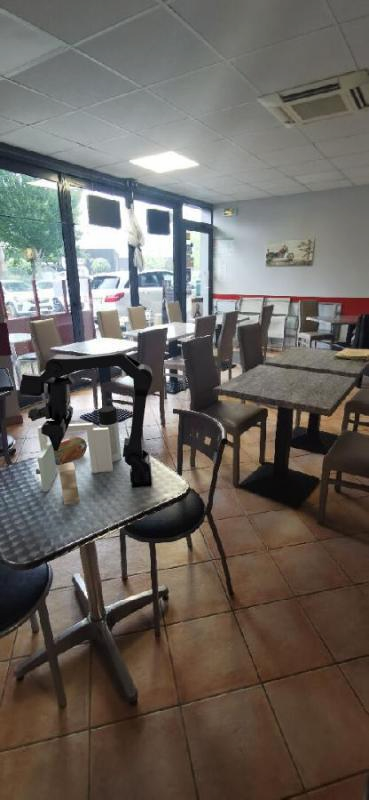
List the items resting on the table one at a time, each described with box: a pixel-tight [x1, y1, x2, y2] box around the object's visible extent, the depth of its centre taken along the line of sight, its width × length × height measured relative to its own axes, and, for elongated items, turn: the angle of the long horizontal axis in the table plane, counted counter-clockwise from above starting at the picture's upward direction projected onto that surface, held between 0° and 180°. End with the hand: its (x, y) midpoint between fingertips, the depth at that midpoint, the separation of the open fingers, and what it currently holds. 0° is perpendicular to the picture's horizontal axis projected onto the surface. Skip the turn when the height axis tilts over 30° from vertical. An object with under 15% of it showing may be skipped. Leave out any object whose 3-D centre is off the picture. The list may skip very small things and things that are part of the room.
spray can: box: [97, 405, 122, 463], centre depth 146 cm, size 7×7×20 cm
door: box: [35, 441, 58, 492], centre depth 132 cm, size 12×3×12 cm, turn 3°
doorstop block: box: [57, 461, 80, 505], centre depth 123 cm, size 4×5×11 cm
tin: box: [53, 436, 88, 467], centre depth 148 cm, size 15×3×8 cm, turn 132°
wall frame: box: [37, 422, 114, 474], centre depth 137 cm, size 23×2×18 cm, turn 93°
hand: (58, 444), depth 125 cm, fingers open, 9 cm apart
